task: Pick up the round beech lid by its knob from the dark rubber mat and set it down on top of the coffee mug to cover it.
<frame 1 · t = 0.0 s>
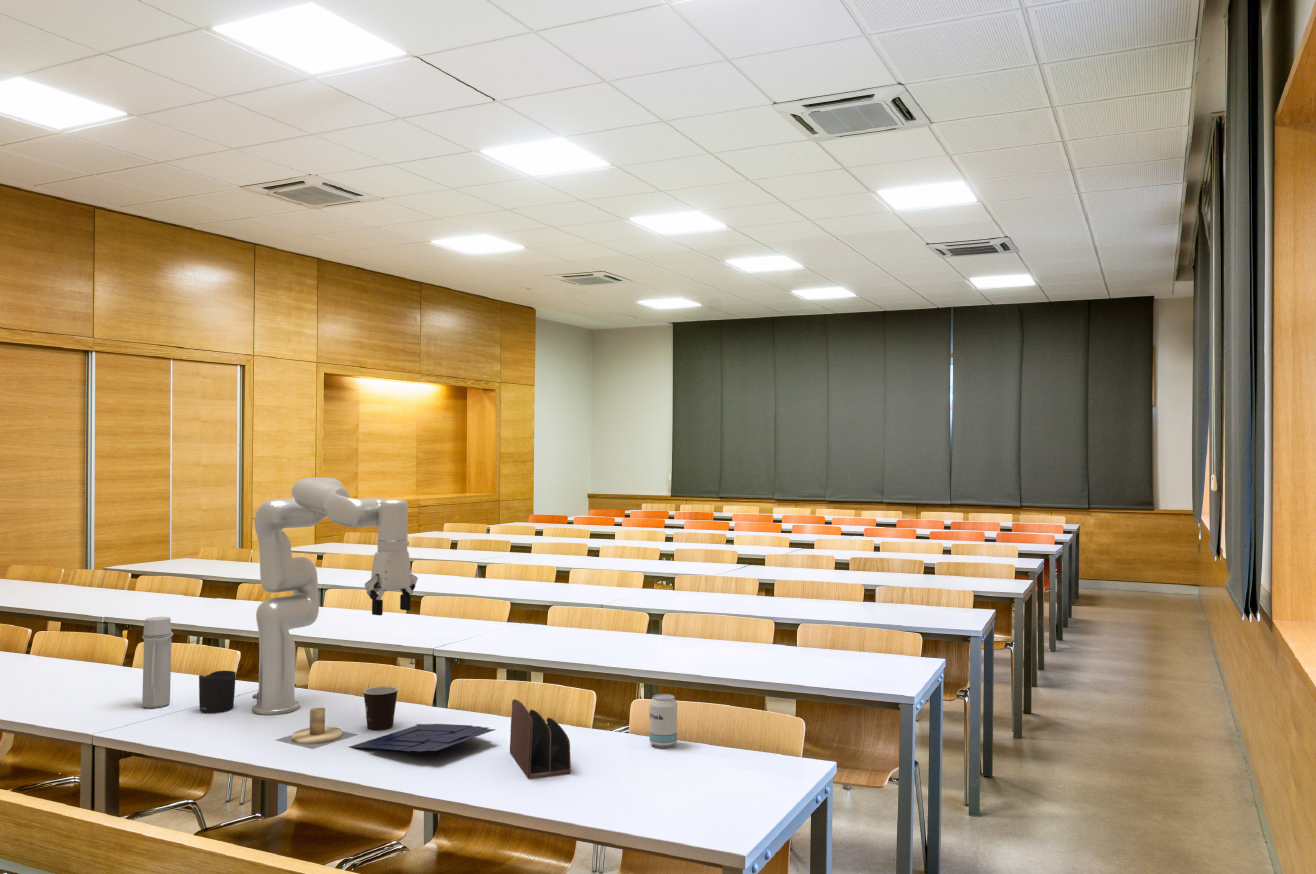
hand: (391, 612, 236), 31 cm above the table, fingers open, 9 cm apart
lid: (317, 737, 230), resting on mat
pen holder: (216, 710, 257), on the table
coffee mug: (381, 727, 241), on the table
water bottle: (155, 707, 260), on the table
letter holder: (539, 764, 212), on the table
papers: (423, 747, 225), on the table
beverage can: (663, 745, 226), on the table
mat: (317, 738, 230), on the table
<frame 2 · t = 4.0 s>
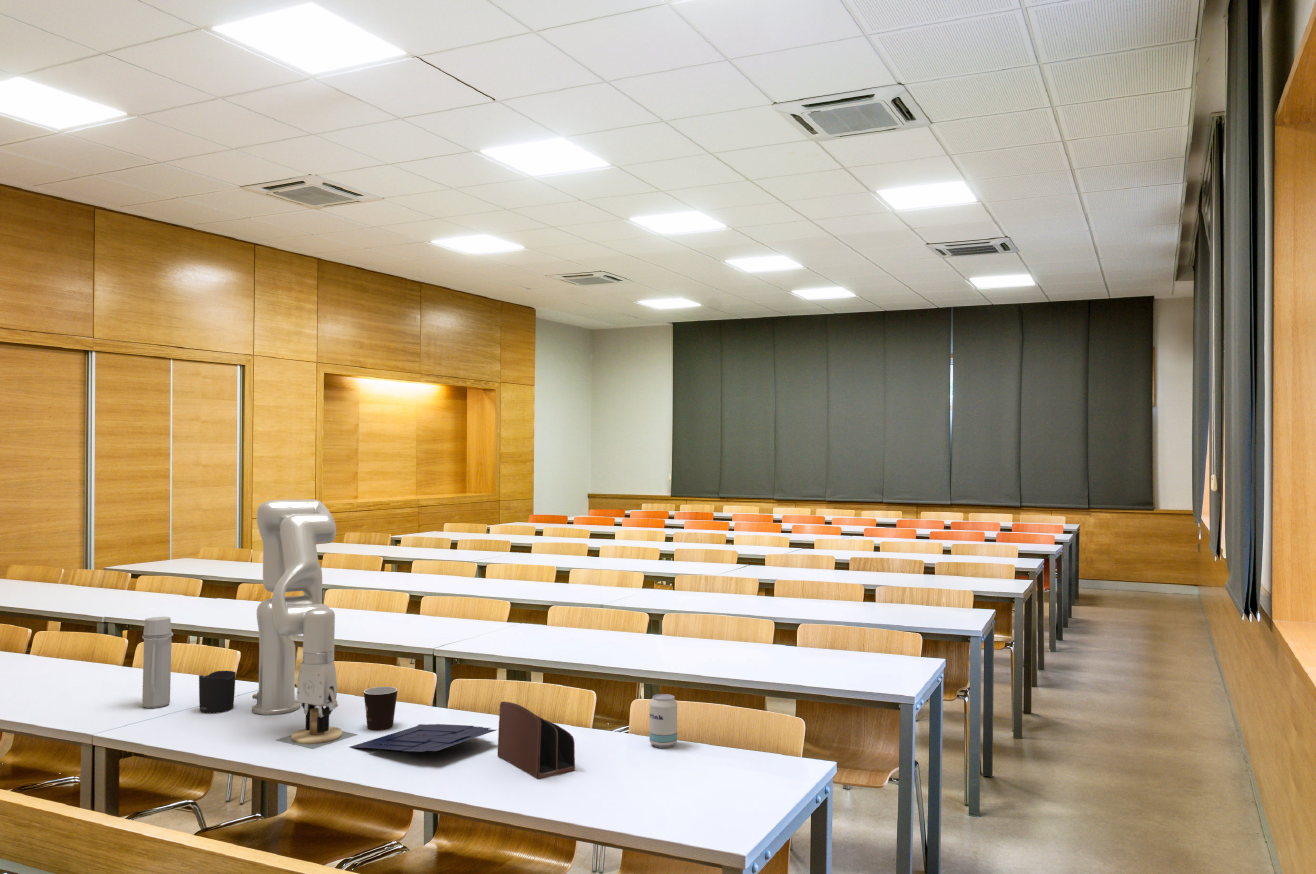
hand: (317, 729, 230), 2 cm above the table, fingers closed on lid, 3 cm apart
lid: (317, 737, 230), resting on mat, touching gripper
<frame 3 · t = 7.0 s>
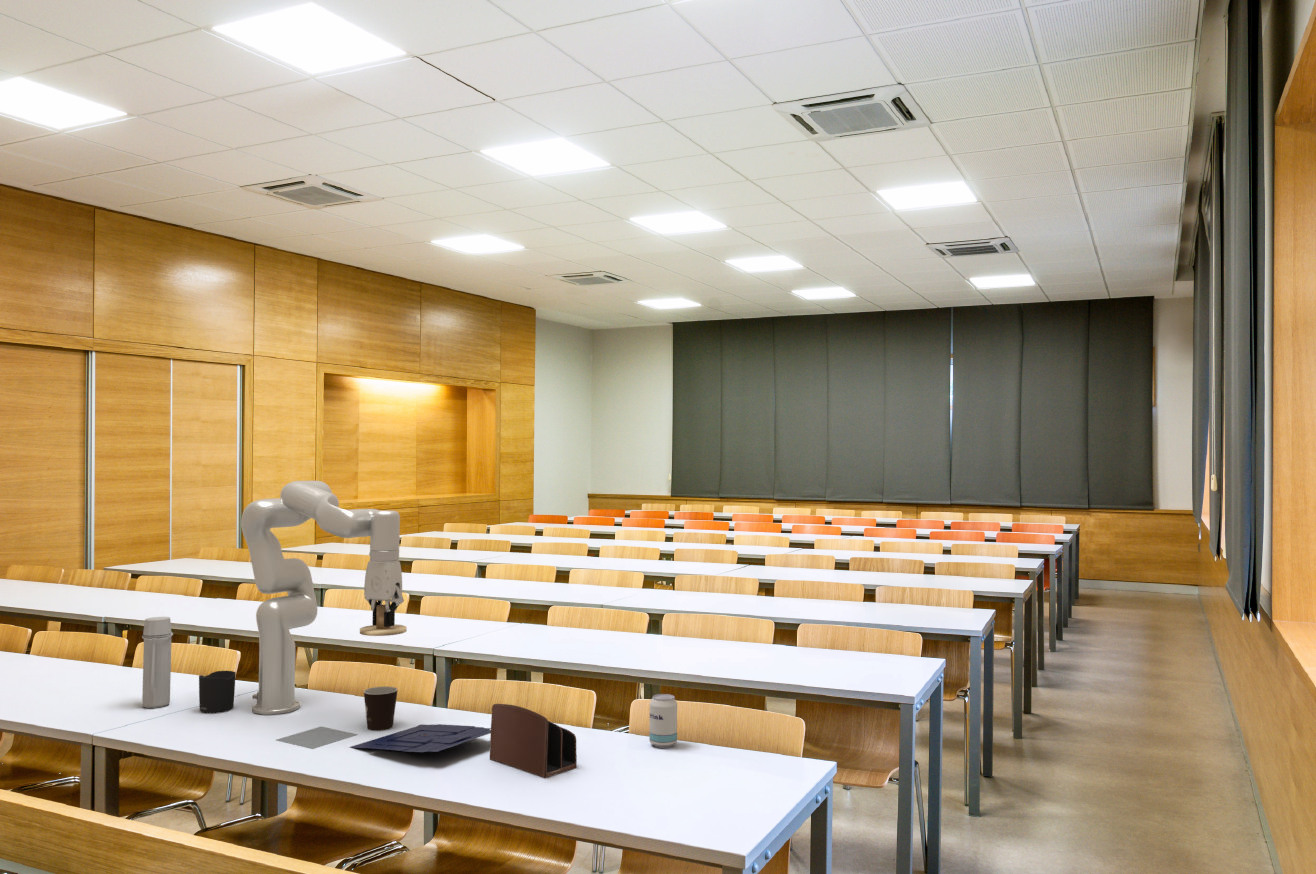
hand: (383, 624, 242), 27 cm above the table, fingers closed on lid, 3 cm apart
lid: (383, 631, 242), point 25 cm above the table, touching gripper
when the fingers open (13 cm above the table, at t = 10.2 s): lid drops 1 cm, resting on coffee mug.
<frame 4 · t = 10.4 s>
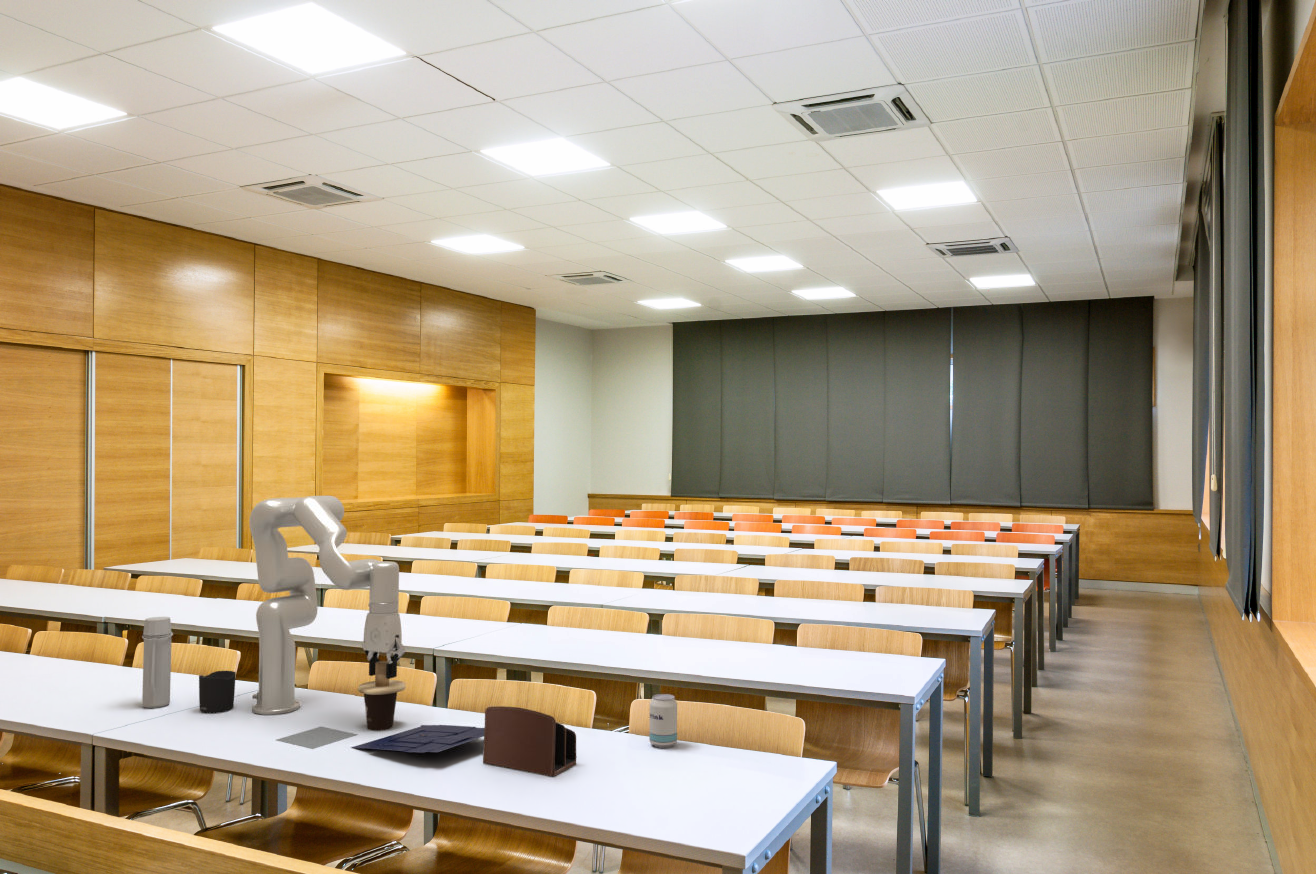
hand: (382, 675, 241), 14 cm above the table, fingers open, 5 cm apart
lid: (382, 689, 241), point 10 cm above the table, touching coffee mug
coffee mug: (381, 727, 241), on the table, touching lid
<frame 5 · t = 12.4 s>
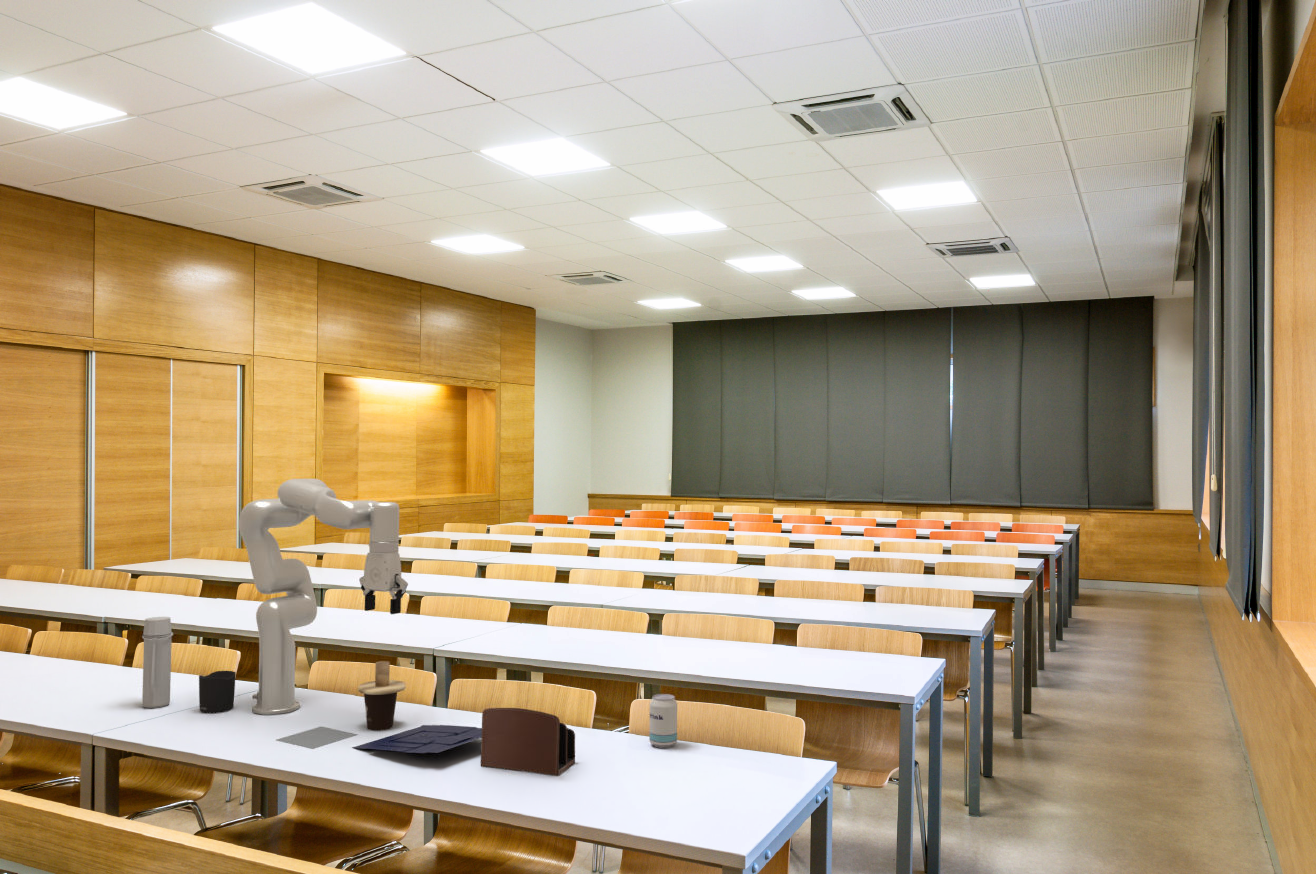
hand: (382, 611, 243), 30 cm above the table, fingers open, 9 cm apart
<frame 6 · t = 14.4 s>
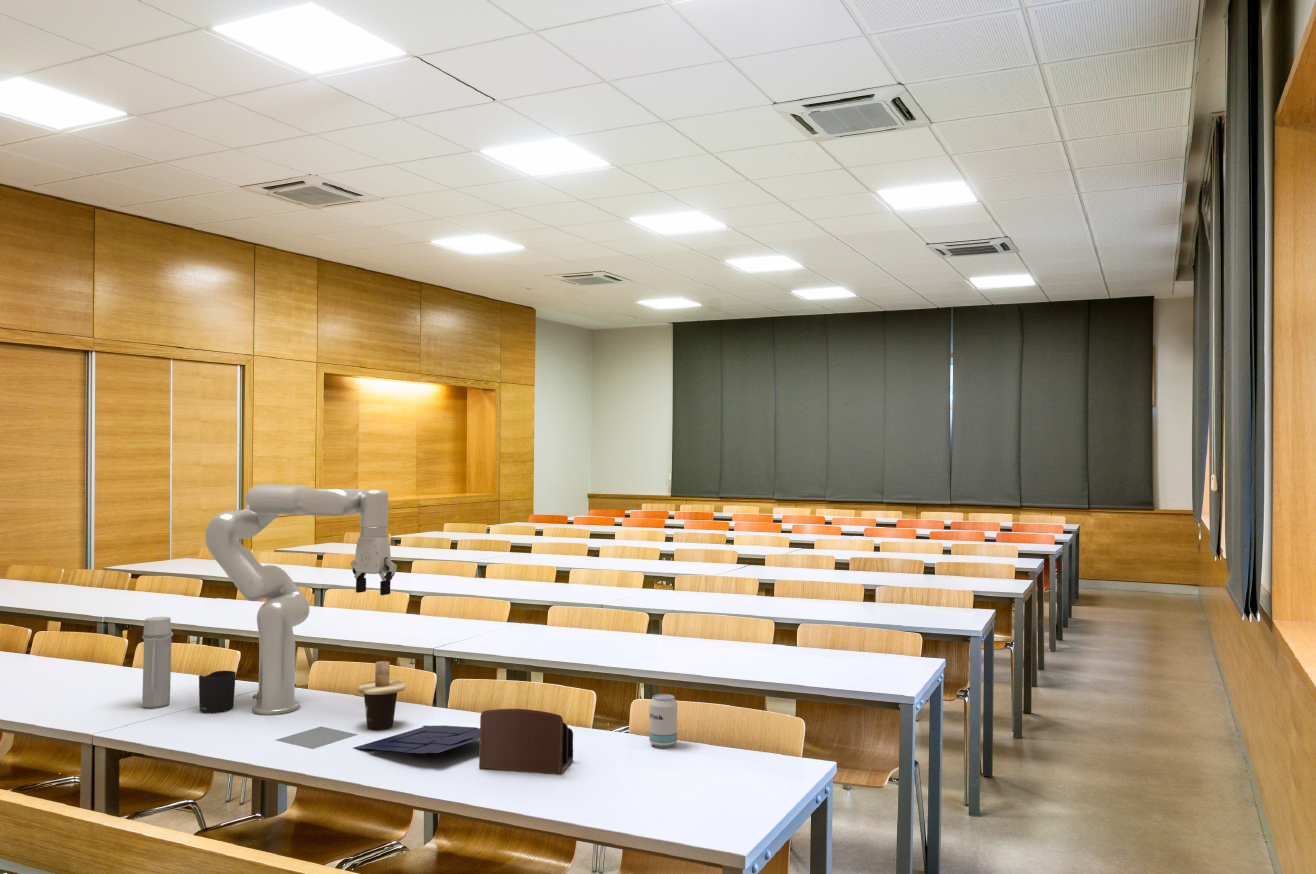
hand: (372, 593, 257), 33 cm above the table, fingers open, 9 cm apart
at the end: lid 0.1 cm from the coffee mug (horizontally); lid point 10.0 cm above the table; lid tilted 0° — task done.
